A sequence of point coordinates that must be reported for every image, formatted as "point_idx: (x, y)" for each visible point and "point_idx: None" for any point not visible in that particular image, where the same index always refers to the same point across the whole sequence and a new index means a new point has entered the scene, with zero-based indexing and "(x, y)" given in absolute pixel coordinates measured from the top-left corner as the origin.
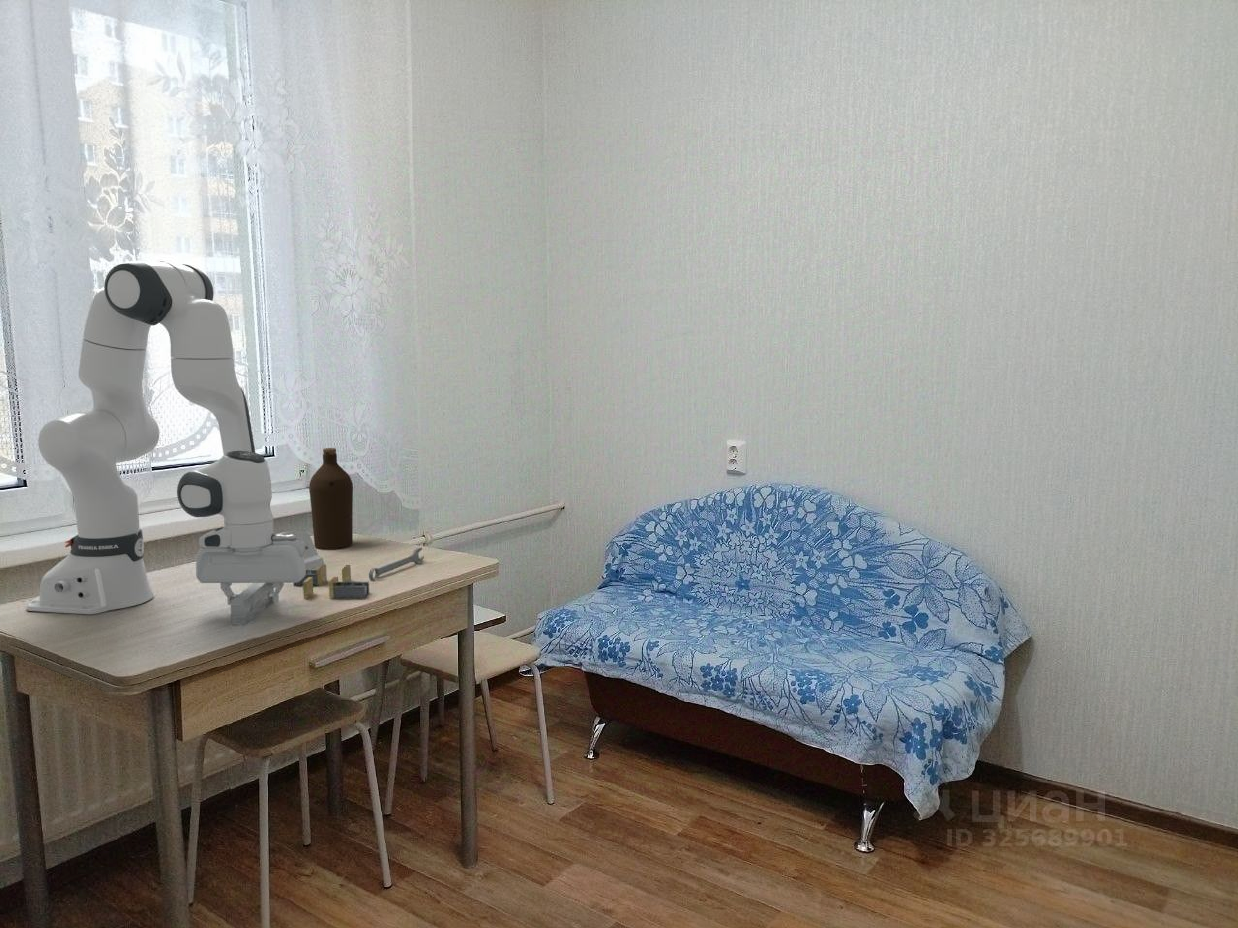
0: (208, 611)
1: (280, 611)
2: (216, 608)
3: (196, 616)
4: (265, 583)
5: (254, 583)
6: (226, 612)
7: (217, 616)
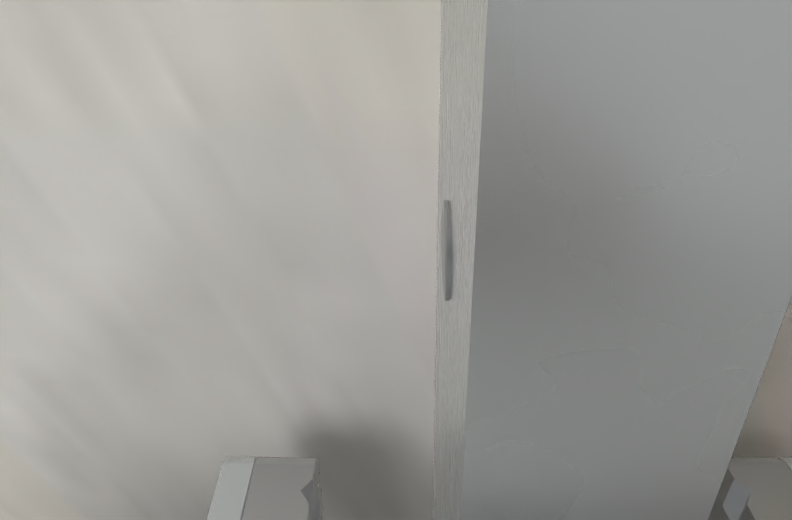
0: (9, 386)
1: (774, 400)
2: (18, 299)
3: (10, 498)
4: (716, 489)
5: (499, 503)
6: (221, 415)
7: (203, 501)
